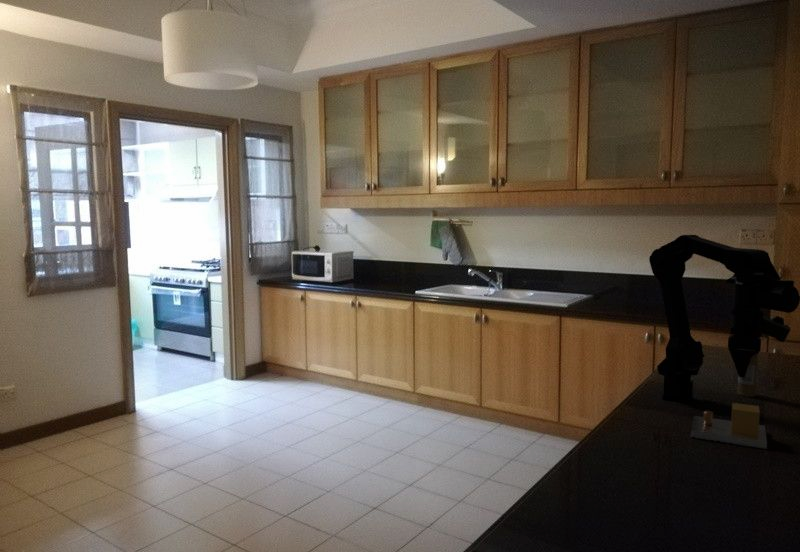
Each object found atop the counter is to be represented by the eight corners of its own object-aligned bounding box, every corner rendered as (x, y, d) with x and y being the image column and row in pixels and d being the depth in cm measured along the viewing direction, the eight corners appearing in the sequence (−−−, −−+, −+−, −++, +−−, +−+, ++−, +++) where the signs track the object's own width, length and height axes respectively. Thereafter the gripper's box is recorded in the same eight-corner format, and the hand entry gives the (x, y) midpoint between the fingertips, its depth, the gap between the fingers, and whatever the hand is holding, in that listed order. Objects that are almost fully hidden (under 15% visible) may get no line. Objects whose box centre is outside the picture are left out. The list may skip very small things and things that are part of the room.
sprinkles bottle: (759, 395, 161) (762, 345, 160) (750, 398, 159) (753, 347, 158) (742, 391, 165) (744, 342, 164) (733, 393, 163) (735, 344, 161)
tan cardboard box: (731, 432, 130) (732, 409, 129) (731, 424, 134) (732, 402, 134) (758, 436, 128) (759, 412, 127) (757, 428, 132) (758, 406, 131)
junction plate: (690, 437, 131) (691, 416, 131) (693, 422, 141) (694, 403, 140) (766, 449, 124) (767, 427, 124) (764, 432, 134) (765, 412, 134)
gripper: (791, 315, 126) (785, 388, 128) (787, 302, 142) (782, 367, 144) (730, 310, 132) (725, 380, 134) (733, 298, 148) (728, 361, 150)
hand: (742, 372), depth 140 cm, fingers open, 9 cm apart
